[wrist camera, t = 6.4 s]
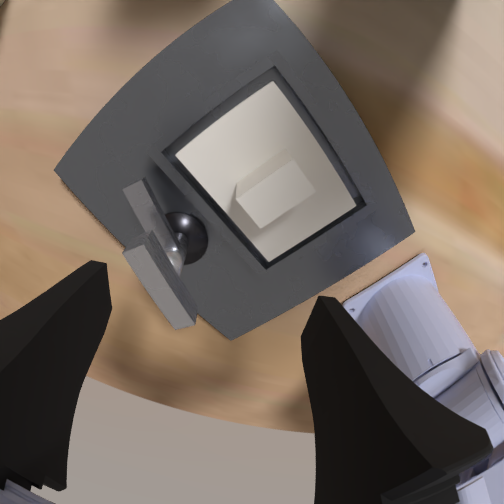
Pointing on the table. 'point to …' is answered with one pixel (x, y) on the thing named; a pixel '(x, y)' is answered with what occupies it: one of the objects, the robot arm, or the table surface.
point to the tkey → (159, 257)
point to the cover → (267, 172)
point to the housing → (193, 193)
